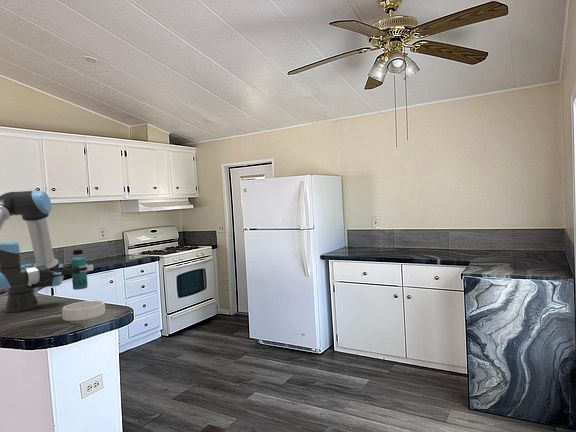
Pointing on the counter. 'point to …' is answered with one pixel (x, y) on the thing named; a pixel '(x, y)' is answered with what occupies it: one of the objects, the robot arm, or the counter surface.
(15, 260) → the robot arm
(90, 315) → the bowl
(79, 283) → the beverage bottle
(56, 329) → the counter surface
